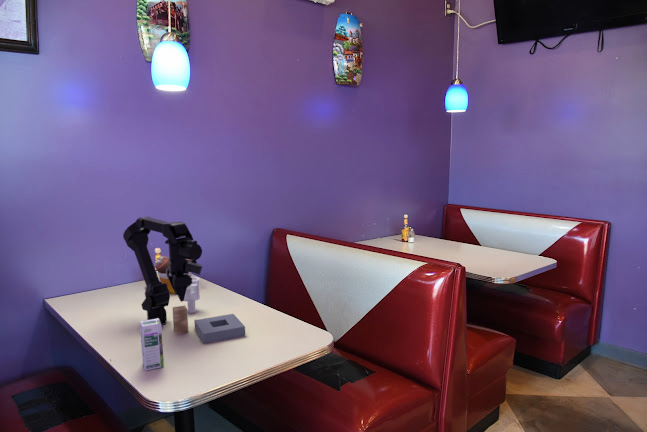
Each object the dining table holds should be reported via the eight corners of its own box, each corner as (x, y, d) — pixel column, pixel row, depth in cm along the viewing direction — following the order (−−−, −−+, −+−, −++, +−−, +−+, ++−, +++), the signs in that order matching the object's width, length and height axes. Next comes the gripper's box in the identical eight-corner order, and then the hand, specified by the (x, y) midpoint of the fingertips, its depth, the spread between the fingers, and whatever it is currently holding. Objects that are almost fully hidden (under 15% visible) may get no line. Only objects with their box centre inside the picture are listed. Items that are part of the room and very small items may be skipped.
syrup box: (144, 371, 147) (141, 326, 145) (142, 363, 152) (139, 320, 150) (164, 367, 150) (161, 323, 148) (161, 360, 155) (158, 317, 153)
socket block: (203, 343, 167) (203, 333, 167) (194, 329, 181) (194, 320, 180) (245, 335, 174) (244, 326, 173) (233, 322, 187) (233, 313, 187)
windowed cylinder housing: (180, 314, 197) (178, 278, 195) (186, 308, 204) (185, 274, 202) (196, 314, 196) (195, 279, 194) (203, 308, 203) (201, 274, 201)
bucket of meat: (165, 299, 217) (163, 256, 214) (150, 291, 229) (147, 250, 226) (205, 289, 230) (203, 249, 227) (188, 282, 242) (186, 244, 239)
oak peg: (175, 334, 176) (174, 310, 175) (173, 330, 180) (172, 307, 179) (188, 332, 178) (187, 309, 177) (185, 328, 182) (184, 305, 181)
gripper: (205, 259, 170) (207, 301, 172) (194, 249, 187) (196, 288, 189) (173, 263, 165) (175, 306, 168) (164, 252, 182) (166, 292, 184)
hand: (179, 297), depth 177 cm, fingers open, 9 cm apart
